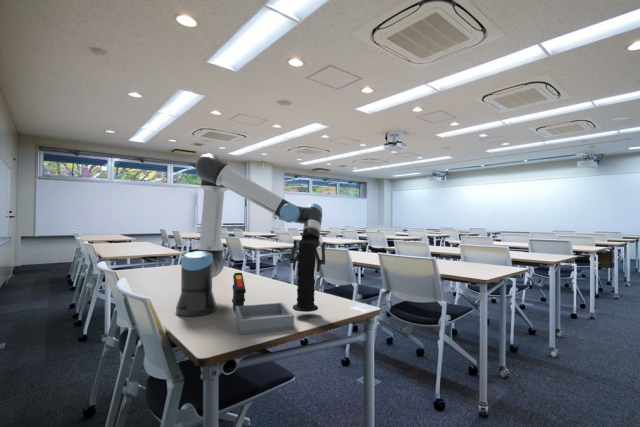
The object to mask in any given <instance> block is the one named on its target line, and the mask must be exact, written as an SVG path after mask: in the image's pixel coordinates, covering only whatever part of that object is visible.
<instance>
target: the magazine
mask: <svg viewBox="0 0 640 427" xmlns="http://www.w3.org/2000/svg"><path fill="white" fill-rule="evenodd" d="M232 277H233V278H232V279H233V285H232V291H233V292H232V293H233V294H232V298H231V303H232V308H233V311H234V312H235V306H244V305H245V301H246V299H245V294H246V292H247V291H246V290H247V289H246V286H245V282H244V281H245V280H244V276H243V272H234V274H233V275H232Z"/></svg>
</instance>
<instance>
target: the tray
mask: <svg viewBox="0 0 640 427" xmlns="http://www.w3.org/2000/svg"><path fill="white" fill-rule="evenodd" d="M234 312H235V313H234V317H235V322H236V326H237V330H238V332H239V335H249V334H257V333H258V334H259V333H269V332H277V331H287V330H294V329H295V315H294V314H293V313H292V311H291V310H290V309H289V308H288V306H286V305H285V304H284V302H272V303H271V302H270V303H258V304H246V305H245V304H244V306H235V311H234Z"/></svg>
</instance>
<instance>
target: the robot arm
mask: <svg viewBox="0 0 640 427" xmlns="http://www.w3.org/2000/svg"><path fill="white" fill-rule="evenodd" d="M194 169H195V172H196V174H197V176H198V177H199V178H200V179H201V180H200V187H201V188H202V189H203V197H202V198H203V200H202V209H201V210H202V212H201V222H200V223H201V224H200V233H199V234H200V236H199V244H198V245H196V247H195V248H194V250H195V251H191V252H187V253H185V254H184V255H183V256H181V264H180V266H181V277H180V278H181V280H180V281H181V283H180V284H181V285H180V290H181V291H180V296H179V298H178V300H177V303H176V306H175V314H176V315H178V316H180V315H181V316H183V317H200V316H204V315H205V316H207V315H209V314H212V313H214V312H216V311H217V303H216V300H215V296H214V293H213V278H215V277H218V275H219V274H221V272H222V271H223V269H224V266H225V259H224V257H223V252H224V249H223V247H222V246H221V233H222V220H223V208H224V198H225V196H224V195H225V192H226V191H227V190H230V191H231V192H233V193H235V194H237V195H239V196H241V197H242V198H244V199H246V200H248V201H250V202H251V203H253V204H255V205H256V206H259V207H260V208H262V209H264V210H265V211H268V212H269V213H271V214H272V215H275V217H278V218H277V219H278V220H280V221H282V222H283V221H284V222H286V223H289V224H290V223H296V224H301V225H302V224H303V228H302V234H301V239H300V240H299V241H296V240H293V246H292V249H291V252H290V256H289V257H288V259H289V263H290V264H292V271H294V272H293V278H294V280H298V263H299V262H298V261H299V260H298V255H299V254H298V253H299V251H298V247H299V243H298V242H302V241H306V240H309V241H312V242H315V243H316V245H315V247H316V251H315V253H316V254H315V256H316V259H315V270H314V280H315V281H317V277H318V276H317V275H318V273H320V272H321V266H322V265H323V266H324V265H326V248H327V242H325V241H324V242H321V241H320V238H321V237H320V236H321V228H322V219H323V208H322V206H320V205H319V204H317V203H310V204H308V205H307V207H304V206H298V205H296V204H294V203H292V202H290V201H288V200H286V199H284V198H283V197H282V196H279V195H277V194H275V193H274V192H272V191H270V190H268V189H266V188H265V187H264V186H262V185H259V184H258V183H256V182H254V181H252V180H251V179H249V178H247V176H246V177H245V176H243V175H242V174H241V173H239V172H237V171H236V170H233V169H232V168H231V165H230V164H229V163H227V161H225V160H224V159H222V158H220V156H217V155H215V154H212V153H205V154H202V155H200V156H199V157H198V159H197V160H196V162H195V165H194ZM319 247H320V248H321V258H320V255H319V253H318V249H317V248H319ZM297 251H298V252H297ZM181 316H180V317H181Z"/></svg>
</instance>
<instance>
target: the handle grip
mask: <svg viewBox="0 0 640 427" xmlns="http://www.w3.org/2000/svg"><path fill="white" fill-rule="evenodd" d="M297 242H298V243H299V247H298V248H297V251H298V252H299V253H298V252H297V254H299V255H298V260H299V261H298V273H297V281H296V282H297V285H296V286H297V288H296V292H297V293H296V295H297V297H296V304H294V305H293V306H292V310H294V311H297V312H303V313H309V312H315V311H317V310H319V307H318V306H319V305H316V304H315V287H316V285H315V284H316V280H314V270H315V262H316V256H315V254H316V253H315V251H316V249H317V248H316V247H315V245H316V243H315V242H312V241H309V240H306V241H302V242H300V241H297Z"/></svg>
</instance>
